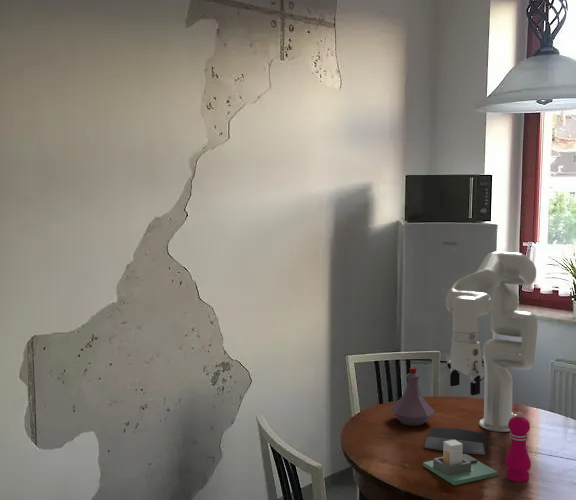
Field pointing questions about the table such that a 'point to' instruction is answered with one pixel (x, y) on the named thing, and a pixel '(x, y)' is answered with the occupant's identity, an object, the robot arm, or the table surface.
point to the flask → (412, 403)
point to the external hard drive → (457, 439)
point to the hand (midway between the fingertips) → (464, 389)
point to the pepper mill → (518, 449)
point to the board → (461, 470)
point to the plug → (452, 452)
